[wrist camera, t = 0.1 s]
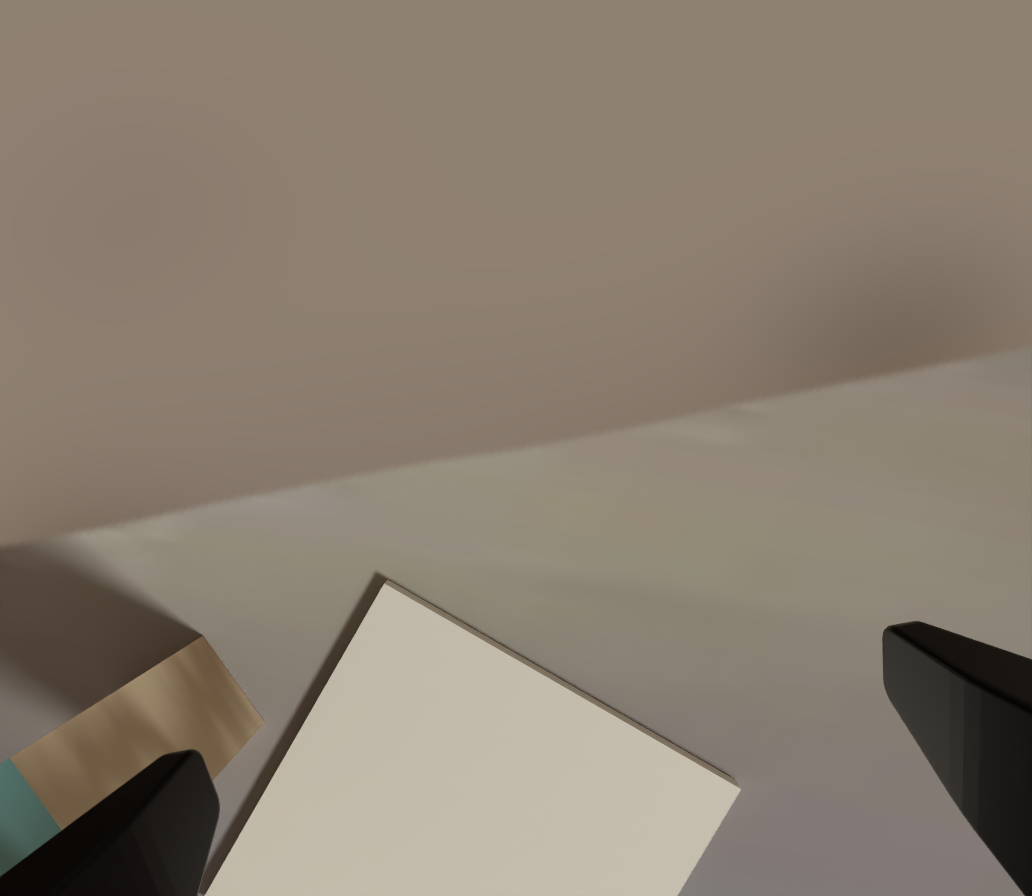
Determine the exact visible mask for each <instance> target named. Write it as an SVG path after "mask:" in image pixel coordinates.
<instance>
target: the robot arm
mask: <svg viewBox="0 0 1032 896" xmlns="http://www.w3.org/2000/svg"><path fill="white" fill-rule="evenodd" d="M882 643H883V680H884V686H885V690H886V693H887V695H888V697H889V699H890V701H891V703H892V704H893V706H894V708H895V709H896V711H897V712H898V714H899V716H900V717H901V719H902V720H903V722H904V723H905V725H906V727H907V728H908V730H909V731H910V733H911V735H912V736H913V738H914V739H915V741H916V742H917V744H918V746H919V747H920V749H921V750H922V752H923V754H924V755H925V757H926V758H927V760H928V761H929V763H930V765H931V766H932V768H933V769H934V771H935V772H936V774H937V776H938V777H939V779H940V780H941V782H942V784H943V785H944V787H945V788H946V790H947V791H948V793H949V795H950V796H951V798H952V799H953V801H954V802H955V804H956V805H957V807H958V808H959V810H960V811H961V813H962V814H963V815H964V817H965V818H966V819H967V821H968V822H969V823H970V825H971V826H972V827H973V829H974V830H975V832H976V833H977V834H978V836H979V837H980V838H981V839H982V841H983V842H984V843H985V845H986V846H987V847H988V848H989V850H990V851H991V852H992V854H993V855H994V856H995V858H996V859H997V860H998V861H999V863H1000V864H1001V865H1002V867H1003V868H1004V869H1005V871H1006V872H1007V873H1008V874H1009V876H1010V877H1011V878H1012V880H1013V881H1014V882H1015V883H1016V885H1017V886H1018V887H1019V889H1020V890H1021V891H1022V893H1023V894H1024V895H1025V896H1032V659H1029V658H1026V657H1023V656H1020V655H1017V654H1014V653H1011V652H1009V651H1006V650H1003V649H1000V648H997V647H994V646H991V645H988V644H985V643H982V642H979V641H976V640H973V639H970V638H967V637H965V636H962V635H959V634H956V633H953V632H950V631H947V630H944V629H941V628H938V627H935V626H932V625H929V624H926V623H923V622H920V621H913V622H907V623H901V624H896V625H890V626H888V627H887V628H886V629H885V630H884V632H883V638H882ZM219 812H220V803H219V798H218V794H217V792H216V789H215V786H214V784H213V781H212V779H211V776H210V773H209V771H208V768H207V766H206V763H205V760H204V758H203V756H202V754H201V753H200V752H199V751H197V750H195V749H188V750H182V751H177V752H171V753H167V754H164V755H162V756H160V757H159V758H158V759H156V760H155V761H154V762H152V763H151V764H150V765H148V766H147V767H146V768H144V769H143V770H142V771H140V772H139V773H138V774H136V775H135V776H134V777H132V778H131V779H130V780H128V781H127V782H126V783H124V784H123V785H122V786H120V787H119V788H118V789H116V790H115V791H114V792H112V793H111V794H110V795H108V796H107V797H105V798H104V799H103V800H101V801H100V802H99V803H97V804H96V805H95V806H93V807H92V808H91V809H89V810H88V811H87V812H85V813H84V814H83V815H81V816H80V817H79V818H77V819H76V820H75V821H73V822H72V823H71V824H69V825H68V826H67V827H65V828H64V829H63V830H61V831H60V832H59V833H57V834H56V835H55V836H53V837H52V838H51V839H49V840H48V841H47V842H45V843H44V844H43V845H41V846H40V847H39V848H37V849H36V850H35V851H33V852H32V853H31V854H29V855H28V856H27V857H25V858H24V859H23V860H21V861H20V862H19V863H17V864H16V865H15V866H13V867H12V868H11V869H9V870H8V871H7V872H5V873H4V874H3V875H1V876H0V896H198V893H199V889H200V886H201V882H202V878H203V875H204V871H205V867H206V863H207V860H208V856H209V852H210V849H211V845H212V841H213V838H214V834H215V830H216V827H217V823H218V819H219Z"/></svg>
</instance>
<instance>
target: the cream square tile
mask: <svg viewBox="0 0 1032 896" xmlns="http://www.w3.org/2000/svg"><path fill="white" fill-rule="evenodd" d="M740 790H741V788H740V786H739V785H738V783H737V781H736V780H735V779H733V778H731V777H729V776H728V775H726V774H724V773H722V772H721V771H719V770H717V769H716V768H714V767H712V766H710V765H709V764H707V763H705V762H703V761H702V760H700V759H698V758H696V757H695V756H693V755H691V754H689V753H688V752H686V751H684V750H683V749H681V748H679V747H677V746H676V745H674V744H672V743H670V742H669V741H667V740H665V739H663V738H662V737H660V736H658V735H657V734H655V733H653V732H651V731H650V730H648V729H646V728H644V727H643V726H641V725H639V724H637V723H636V722H634V721H632V720H631V719H629V718H627V717H625V716H624V715H622V714H620V713H618V712H617V711H615V710H613V709H611V708H610V707H608V706H606V705H604V704H603V703H601V702H599V701H598V700H596V699H594V698H592V697H591V696H589V695H587V694H585V693H584V692H582V691H580V690H578V689H577V688H575V687H573V686H572V685H570V684H568V683H566V682H565V681H563V680H561V679H559V678H558V677H556V676H554V675H552V674H551V673H549V672H547V671H546V670H544V669H542V668H540V667H539V666H537V665H535V664H533V663H532V662H530V661H528V660H526V659H525V658H523V657H521V656H519V655H518V654H516V653H514V652H513V651H511V650H509V649H507V648H506V647H504V646H502V645H500V644H499V643H497V642H495V641H493V640H492V639H490V638H488V637H487V636H485V635H483V634H481V633H480V632H478V631H476V630H474V629H473V628H471V627H469V626H467V625H466V624H464V623H462V622H461V621H459V620H457V619H455V618H454V617H452V616H450V615H448V614H447V613H445V612H443V611H441V610H440V609H438V608H436V607H434V606H433V605H431V604H429V603H428V602H426V601H424V600H422V599H421V598H419V597H417V596H415V595H414V594H412V593H410V592H408V591H407V590H405V589H403V588H402V587H400V586H398V585H396V584H395V583H393V582H391V581H389V580H387V581H386V582H385V583H384V585H383V586H382V588H381V590H380V592H379V593H378V595H377V597H376V599H375V600H374V602H373V604H372V606H371V607H370V609H369V611H368V613H367V614H366V616H365V618H364V620H363V621H362V623H361V625H360V626H359V628H358V630H357V632H356V633H355V635H354V637H353V639H352V640H351V642H350V644H349V646H348V647H347V649H346V651H345V653H344V654H343V656H342V658H341V660H340V661H339V663H338V665H337V666H336V668H335V670H334V672H333V673H332V675H331V677H330V679H329V680H328V682H327V684H326V686H325V687H324V689H323V691H322V693H321V694H320V696H319V698H318V700H317V701H316V703H315V705H314V706H313V708H312V710H311V712H310V713H309V715H308V717H307V719H306V720H305V722H304V724H303V726H302V727H301V729H300V731H299V733H298V734H297V736H296V738H295V740H294V741H293V743H292V745H291V746H290V748H289V750H288V752H287V753H286V755H285V757H284V759H283V760H282V762H281V764H280V766H279V767H278V769H277V771H276V773H275V774H274V776H273V778H272V780H271V781H270V783H269V785H268V786H267V788H266V790H265V792H264V793H263V795H262V797H261V799H260V800H259V802H258V804H257V806H256V807H255V809H254V811H253V813H252V814H251V816H250V818H249V820H248V821H247V823H246V825H245V826H244V828H243V830H242V832H241V833H240V835H239V837H238V839H237V840H236V842H235V844H234V846H233V847H232V849H231V851H230V853H229V854H228V856H227V858H226V860H225V861H224V863H223V865H222V866H221V868H220V870H219V872H218V873H217V875H216V877H215V879H214V880H213V882H212V884H211V886H210V887H209V889H208V891H207V893H206V894H205V896H678V894H679V892H680V891H681V889H682V887H683V886H684V884H685V882H686V881H687V879H688V877H689V876H690V874H691V872H692V870H693V869H694V867H695V865H696V864H697V862H698V860H699V859H700V857H701V855H702V854H703V852H704V850H705V849H706V847H707V845H708V844H709V842H710V840H711V839H712V837H713V835H714V834H715V832H716V830H717V829H718V827H719V825H720V824H721V822H722V820H723V819H724V817H725V815H726V814H727V812H728V810H729V809H730V807H731V805H732V804H733V802H734V800H735V799H736V797H737V795H738V794H739V792H740Z"/></svg>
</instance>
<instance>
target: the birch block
mask: <svg viewBox="0 0 1032 896" xmlns="http://www.w3.org/2000/svg"><path fill="white" fill-rule="evenodd" d="M263 724H264V721H263V719H262V718H261V717H260V715H259V714H258V712H257V711H256V710H255V708H254V707H253V705H252V704H251V703H250V701H249V700H248V698H247V697H246V696H245V694H244V693H243V691H242V690H241V688H240V687H239V686H238V684H237V683H236V681H235V680H234V679H233V677H232V676H231V674H230V673H229V672H228V670H227V669H226V667H225V666H224V665H223V663H222V662H221V660H220V659H219V658H218V656H217V655H216V653H215V652H214V651H213V649H212V648H211V646H210V645H209V643H208V642H207V641H206V639H205V638H204V636H202V637H200V638H198V639H197V640H195V641H194V642H192V643H191V644H189V645H187V646H186V647H184V648H183V649H181V650H180V651H178V652H176V653H175V654H173V655H172V656H170V657H168V658H167V659H165V660H164V661H162V662H161V663H159V664H157V665H156V666H154V667H153V668H151V669H150V670H148V671H146V672H145V673H143V674H142V675H140V676H138V677H137V678H135V679H134V680H132V681H131V682H129V683H127V684H126V685H124V686H123V687H121V688H120V689H118V690H116V691H115V692H113V693H112V694H110V695H109V696H107V697H105V698H104V699H102V700H101V701H99V702H97V703H96V704H94V705H93V706H91V707H90V708H88V709H86V710H85V711H83V712H82V713H80V714H79V715H77V716H75V717H74V718H72V719H71V720H69V721H67V722H66V723H64V724H63V725H61V726H60V727H58V728H56V729H55V730H53V731H52V732H50V733H49V734H47V735H45V736H44V737H42V738H41V739H39V740H38V741H36V742H34V743H33V744H31V745H30V746H28V747H26V748H25V749H23V750H22V751H20V752H19V753H17V754H15V755H14V756H12V757H11V758H9V759H8V760H6V761H4V762H3V763H1V764H0V876H1V875H3V874H4V873H5V872H7V871H8V870H9V869H11V868H12V867H13V866H15V865H16V864H17V863H19V862H20V861H21V860H23V859H24V858H25V857H27V856H28V855H29V854H31V853H32V852H33V851H35V850H36V849H37V848H39V847H40V846H41V845H43V844H44V843H45V842H47V841H48V840H49V839H51V838H52V837H53V836H55V835H56V834H57V833H59V832H60V831H61V830H63V829H64V828H65V827H67V826H68V825H69V824H71V823H72V822H73V821H75V820H76V819H77V818H79V817H80V816H81V815H83V814H84V813H85V812H87V811H88V810H89V809H91V808H92V807H93V806H95V805H96V804H97V803H99V802H100V801H101V800H103V799H104V798H105V797H107V796H108V795H110V794H111V793H112V792H114V791H115V790H116V789H118V788H119V787H120V786H122V785H123V784H124V783H126V782H127V781H128V780H130V779H131V778H132V777H134V776H135V775H136V774H138V773H139V772H140V771H142V770H143V769H144V768H146V767H147V766H148V765H150V764H151V763H152V762H154V761H155V760H156V759H158V758H159V757H160V756H162V755H164V754H167V753H171V752H177V751H182V750H188V749H195V750H197V751H199V752H200V753H201V754H202V756H203V758H204V760H205V763H206V766H207V768H208V771H209V773H210V776H211V779H212V781H213V779H214V778H215V777H216V776H217V775H218V774H219V773H220V772H221V771H222V769H223V768H224V767H225V766H226V765H227V764H228V763H229V762H230V760H231V759H232V758H233V757H234V756H235V755H236V754H237V753H238V752H239V750H240V749H241V748H242V747H243V746H244V745H245V744H246V743H247V741H248V740H249V739H250V738H251V737H252V736H253V735H254V734H255V732H256V731H257V730H258V729H259V728H260V727H261V726H262V725H263Z"/></svg>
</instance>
